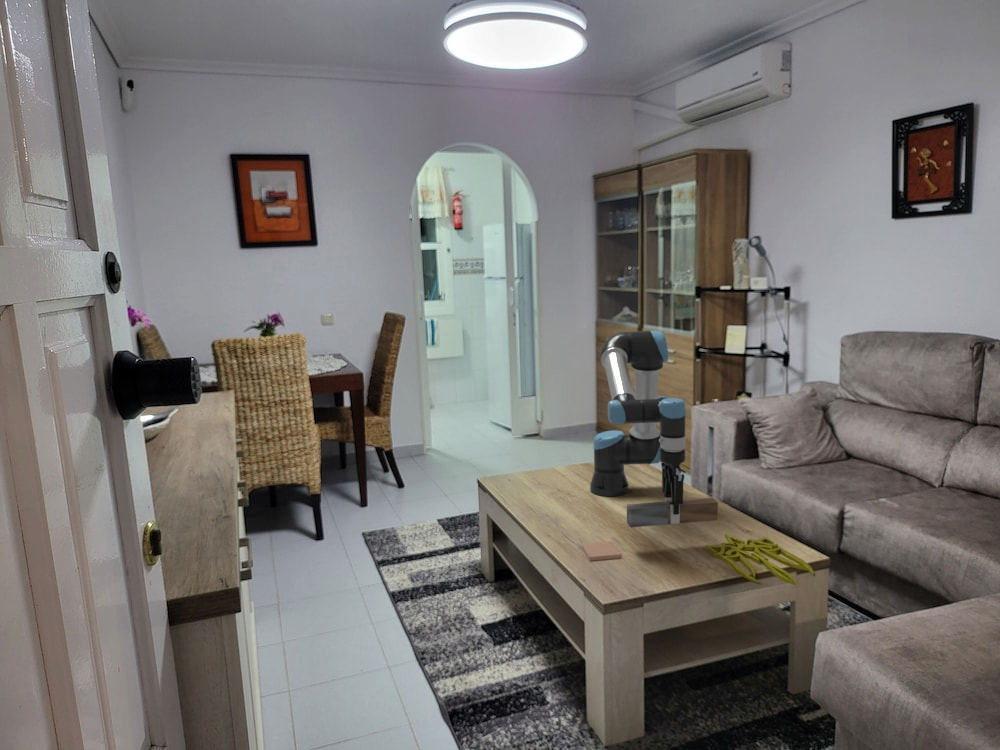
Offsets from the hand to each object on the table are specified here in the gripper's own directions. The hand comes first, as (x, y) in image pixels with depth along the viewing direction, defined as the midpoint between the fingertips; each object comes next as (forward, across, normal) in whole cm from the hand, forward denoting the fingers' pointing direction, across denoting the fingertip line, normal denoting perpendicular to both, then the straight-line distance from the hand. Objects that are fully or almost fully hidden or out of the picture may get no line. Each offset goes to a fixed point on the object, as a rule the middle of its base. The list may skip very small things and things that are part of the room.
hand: (672, 520), depth 212 cm
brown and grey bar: (0, 0, 0) cm, 0 cm away
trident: (+9, +15, +21) cm, 27 cm away
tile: (+8, +1, -18) cm, 20 cm away
